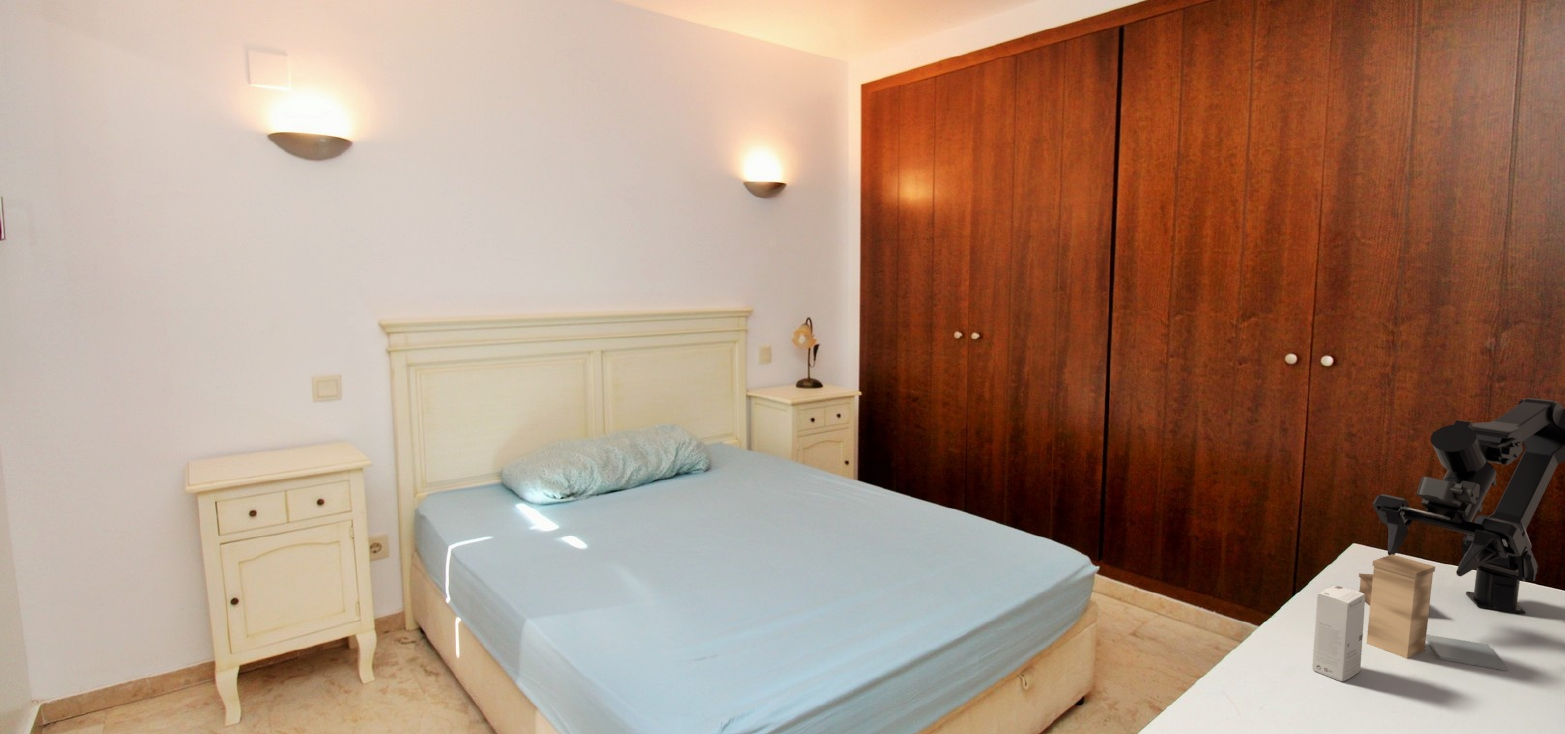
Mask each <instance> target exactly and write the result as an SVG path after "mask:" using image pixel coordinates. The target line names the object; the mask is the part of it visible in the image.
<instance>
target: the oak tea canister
mask: <svg viewBox="0 0 1565 734" xmlns="http://www.w3.org/2000/svg"><path fill="white" fill-rule="evenodd" d="M1371 566H1372V567H1373V573H1372V574H1373V582H1372V592H1371V603H1370V606H1369V614H1368V624H1367V625H1368V626H1367V635H1366V644H1367V645H1370V646H1373V647H1374V648H1378V649H1381V650H1383V651H1386V652H1389V653H1391V654H1394V655H1396V656H1399V657H1402V658H1405V659H1409V658H1411V657H1413V656H1415V655H1417V654H1420V653H1422V652H1424V651H1425V650H1426V643H1427V641H1426V634H1428V633H1427V632H1428V623H1429V614H1430V613H1429V611H1430V604H1431V594H1432V585H1433V576H1434V572H1435V571H1436V566H1434V565H1431V564H1427V563H1424V562H1420V561H1417V560H1413V559H1409V558H1407V557H1403V556H1399V555H1396V554H1395V555H1385V556H1383V557H1380V558H1376V559H1374V560H1372V565H1371Z"/></svg>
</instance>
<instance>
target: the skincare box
mask: <svg viewBox="0 0 1565 734" xmlns="http://www.w3.org/2000/svg"><path fill="white" fill-rule="evenodd" d="M1365 604H1366V602H1365V594H1364V593H1361V592H1359V590H1358V591H1357V590H1353V589H1349V588H1346V587H1342V586H1340V585H1339V586H1338V585H1333V586H1330V587H1327V588H1325V589H1323V590H1322V591H1321V592H1318V593H1317V596H1316V609H1315V623H1314V624H1315V625H1314V637H1313V638H1314V639H1313V649H1312V651H1313V653H1312V664H1311V665H1312V666H1311V667H1312V671H1314V672H1315V673H1318V674H1321V675H1322V676H1325V677H1329V679H1334V680H1336V681H1338V682H1345V681H1347V680H1349V679H1351V678H1353V677H1354V676H1356V675H1357V674H1359V672H1360V671H1361V663H1362V652H1363V650H1362V649H1363V638H1364V637H1363V636H1364V634H1363V633H1364V621H1365V606H1366V605H1365Z"/></svg>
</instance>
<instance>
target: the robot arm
mask: <svg viewBox="0 0 1565 734" xmlns="http://www.w3.org/2000/svg"><path fill="white" fill-rule="evenodd" d="M1430 443H1431V445H1432V447H1433V449H1434V452H1435V453H1436V456H1437V458H1438V460H1439V463H1440V464H1441V466H1442V467H1444V469H1446V470H1447V471H1446V473H1445V475H1444V476H1443V478H1442V479H1439V478H1433V477H1430V476H1429V477H1428V476H1421V479H1420V481H1419V485H1418V487H1417V491H1416V494H1415V496H1417V497H1420V498H1422V499H1421V502H1420V503H1421V505H1422V507H1424V508H1426V510H1420V509H1415V508H1412V507H1411V506H1410V505H1409V503H1408V500H1407V498H1403V497H1398V496H1394V495H1389V494H1385V493H1382V494H1379V495H1377V496H1376V497H1375V498H1374V501H1373V502H1372V507H1373V509H1374V511H1375V512H1376V514H1377V516H1378V518H1379V520H1380V522H1381V523H1383V524H1384V525H1386V527H1387V529H1388V531H1387V532H1388V533H1387V534H1388V537H1387V556H1389V555H1396V553H1397V552H1398V551H1399V549H1400V548H1401V546H1402V544H1403V543H1404V541H1405V539H1406V538H1407V536H1408V534H1409V531H1410V530H1409V527H1411V525H1412V523H1413V522H1417V523H1421V524H1425V525H1430V526H1435V527H1437V528H1442V529H1445V530H1449V531H1453V532H1458V533H1463V534H1464V536H1463V538H1462V540H1461V553H1462V559H1461V561H1460V562H1459V564H1458V566H1457V570H1456V571H1455V572H1456V576H1458V577H1462V576H1465V575H1466V574H1468V573H1470V572H1471V571H1474V570H1475V569H1476V573H1475V579H1474V590H1473V591H1465V595H1466V596H1467V597H1468V599H1470V600H1471V602H1473V604H1474V605H1475V606H1476V607H1479V608H1483V609H1488V610H1489V609H1490V610H1496V611H1503V612H1510V613H1517V614H1526V610H1525V609H1524V608H1523V607H1522V606H1521V605H1520V604H1519V603H1518V599H1519V598H1518V597H1519V589H1520V582H1526V581H1529V582H1534V581H1536V575H1537V573H1538V568H1539V566H1538V563H1537V560H1536V558H1535V556H1534V554H1533V551H1532V548H1533V547H1532V543H1531V541H1530V538H1529V537H1530V536H1529V535H1528V533H1527V529H1528V526H1529V525H1530V522H1531V520H1532V518H1533V516H1534V514H1535V512H1536V510H1537V508H1538V506H1539V503H1540V502H1541V501H1542V497H1543V495H1544V493H1545V492H1546V489H1547V487H1548V485H1549V483H1550V482H1551V479H1552V477H1553V475H1554V473H1555V471H1556V470H1557V467H1558V465H1560V464H1562V463H1564V462H1565V408H1564V405H1562V404H1561V403H1560V402H1557V401H1556V400H1548V399H1543V398H1542V399H1541V398H1532V397H1527V398H1522V399H1520V400H1519V402H1518V403H1517V405H1516V406H1514V407H1513V408H1512V409H1510V410H1508V411H1507V412H1505V413H1503V414H1502V415H1501V416H1499V417H1497V418H1496V419H1494V420H1492V421H1488V422H1487V421H1486V422H1483V421H1481V422H1474V423H1472V422H1471V421H1467V420H1459V419H1456V420H1455V422H1454V423H1453V424H1450V425H1445V426H1441V427H1440V428H1438V429H1436V430H1435V431H1433V432H1432V433H1431V436H1430ZM1522 445H1523V446H1522ZM1523 447H1524V448H1523ZM1524 449H1525V450H1524ZM1521 454H1522V455H1521ZM1520 455H1521V458H1520V459H1519V457H1520ZM1518 459H1519V461H1518V463H1517V466H1516V468H1515V470H1514V472H1513V474H1512V475H1511V478H1510V480H1509V482H1508V483H1507V484H1506V485H1507V486H1506V488H1505V490H1504V492H1503V494H1502V496H1500V499H1499V501H1498V503H1497V506H1496V508H1495V510H1494V512H1493V513H1492V514H1490V515H1482V514H1480V513H1482V511H1483V509H1484V507H1483V504H1482V503H1483V501H1484V499H1485V498H1486V496H1487V493H1488V492H1489V491H1490V488H1491V486H1492V487H1494V486H1496V485H1497V479H1496V476H1497V471H1496V469H1495V466H1493V465H1492V463H1493V464H1499V465H1503V466H1504V465H1505V466H1508V465H1510V464H1511V463H1513V462H1514V460H1515V461H1516V460H1518ZM1477 513H1479V514H1478V516H1476V515H1477ZM1475 516H1476V517H1475ZM1473 520H1474V521H1473Z"/></svg>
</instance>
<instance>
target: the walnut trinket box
mask: <svg viewBox="0 0 1565 734" xmlns="http://www.w3.org/2000/svg"><path fill="white" fill-rule="evenodd" d="M1358 578H1360V582H1359V588H1358V589H1359V590H1358V592H1361V593H1364V594H1365V604H1367V605H1368V606H1369V607H1370V603H1371V592H1372V582H1373V573H1358Z"/></svg>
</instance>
